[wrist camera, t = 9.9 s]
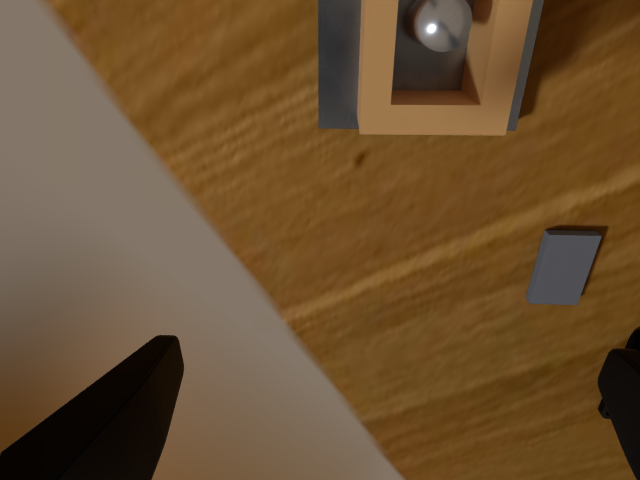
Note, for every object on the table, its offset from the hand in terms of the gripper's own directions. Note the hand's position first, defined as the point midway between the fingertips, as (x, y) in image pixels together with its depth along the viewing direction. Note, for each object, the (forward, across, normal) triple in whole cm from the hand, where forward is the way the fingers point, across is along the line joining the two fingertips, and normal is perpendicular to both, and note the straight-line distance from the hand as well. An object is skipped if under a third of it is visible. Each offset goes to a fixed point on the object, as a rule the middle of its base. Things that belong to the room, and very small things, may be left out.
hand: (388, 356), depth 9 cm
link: (+11, -2, -6) cm, 13 cm away
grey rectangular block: (+12, -10, +5) cm, 16 cm away
